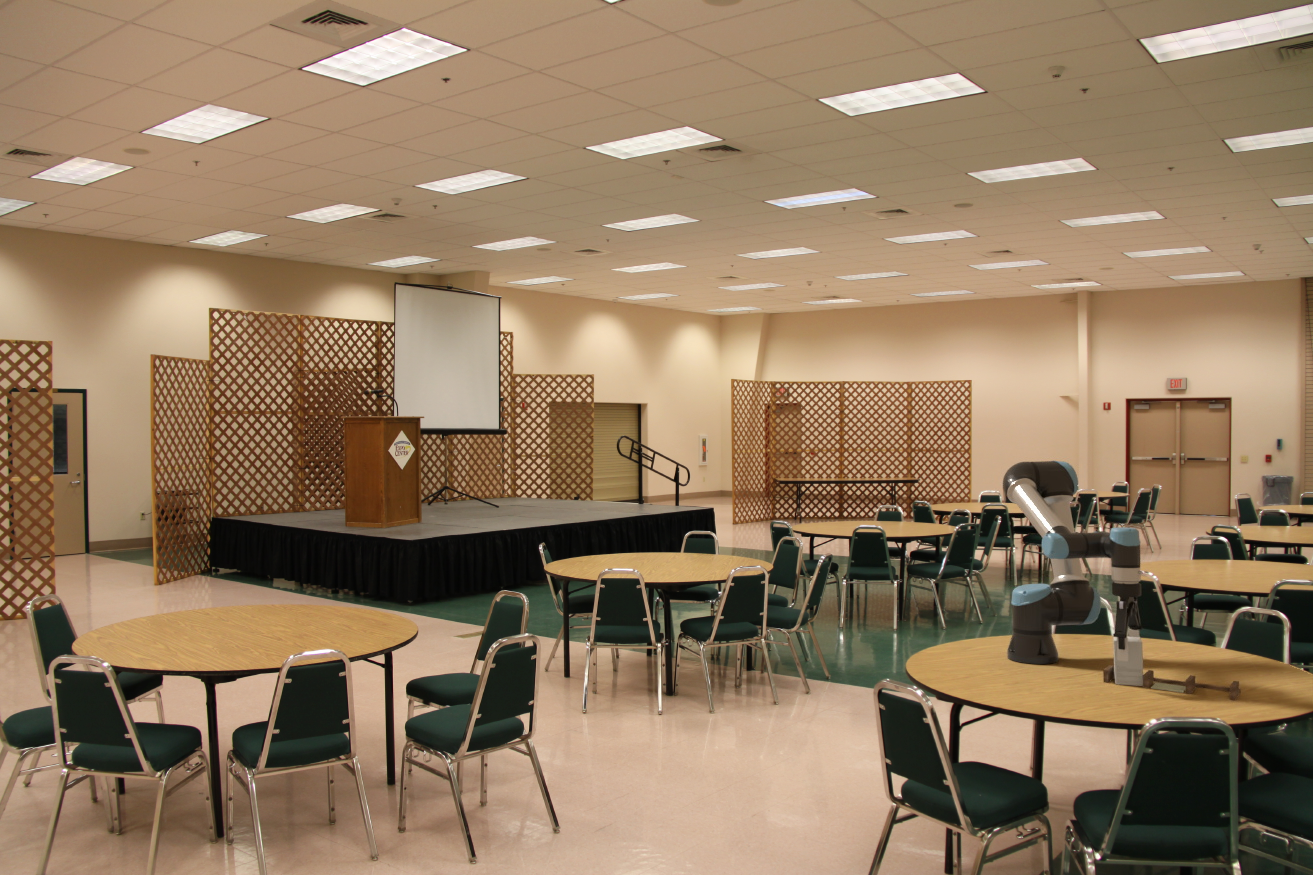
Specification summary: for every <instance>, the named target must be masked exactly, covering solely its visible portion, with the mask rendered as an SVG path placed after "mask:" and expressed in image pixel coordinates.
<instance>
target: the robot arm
mask: <svg viewBox="0 0 1313 875" xmlns="http://www.w3.org/2000/svg"><path fill="white" fill-rule="evenodd" d="M1078 478H1079V477H1078V474H1077V472H1076V470H1075V468H1074V467H1073V465H1072V464H1070V463H1069V462H1067V461H1061V460H1059V461H1058V460H1050V461H1049V460H1048V461H1047V460H1045V461H1044V460H1043V461H1021V462H1017V463H1015V464H1014V465H1012V466H1010V467H1009V468H1008V469H1007V470H1006V472H1005V474H1004V476H1003V480H1002V490H1003V492H1004V495H1005V496H1006V497H1007V499H1008V500H1009V501H1010V502H1011V503H1013V504H1016V505H1017V507H1018V508H1019V509H1020V510H1021V511H1022V513H1023V514H1024V516H1025V517H1026V518H1027V519H1028V521H1029V522H1030V524H1031V525H1032V526H1033V527H1034V529H1035V530H1036V532H1037V533H1038V534H1039V535H1040V536H1041V538H1042V539H1041V549H1042V550H1043V554H1044V556H1045V557H1046V558H1048V559H1050V562H1051V567H1052V573H1053V574H1052V575H1053V580H1052V581H1051V582H1050V583H1049V584H1048V583H1029V584H1028V583H1027V584H1023V585H1018V586H1017V587H1015V588H1014V589H1013V590H1012V594H1011V601H1010V603H1011V618H1012V619H1011V620H1012V634H1011V636H1010V641H1009V644H1008V647H1007V652H1006V654H1007V656H1006V657H1007V659H1009V660H1011V661H1013V662H1017V663H1018V662H1019V663H1022V664H1034V665H1045V664H1054V663H1055V664H1056V663H1057V662H1059V652H1058V649H1057V646H1056V643H1055V640H1054V638H1053V629H1052V628H1053V627H1052V626H1071V625H1072V626H1073V625H1074V626H1075V625H1076V626H1082V625H1091V624H1093V623H1095V622H1096V620H1098V618H1099V614H1100V612H1101V607H1102V600H1101V596H1100V593H1099V592H1098V590H1097V588H1096V587H1093V586H1090V580H1089V579H1088V578H1086V577H1085V576H1084V575H1083V570H1082V565H1081V559H1110V562H1111V563H1110V566H1111V567H1110V568H1111V569H1110V570H1111V580H1112V581H1113V582H1112V583H1111V594H1112V595H1113V596H1115V597H1119V600H1117V601H1116V603H1115V604H1116V612H1115V621H1114V622H1115V624H1114V625H1115V626H1114V632H1113V633H1112V635H1113V636H1112V638H1113V637H1117V660H1119V661H1129V658H1128V638H1127V637H1140V630H1141V631H1142V630H1143V626H1142V624H1141V618H1140V617H1141V616H1140V613H1139V605H1138V597H1141V596H1142V584H1141V581H1142V577H1141V576H1142V575H1143V574H1144V571H1143V570H1141V539H1140V531H1139V529H1138V528H1135V527H1126V526H1125V527H1123V526H1122V527H1112V528H1110V531H1106V530H1105V531H1104V530H1101V531H1099V530H1098V531H1097V530H1096V531H1093V532H1076V531H1075V526H1074V522H1073V517H1072V510H1071V505H1070V504H1071V502H1072V501H1073V500H1074V495H1075V494H1077V492H1078V489H1079V487H1078V485H1079V479H1078Z"/></svg>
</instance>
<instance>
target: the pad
mask: <svg viewBox="0 0 1313 875" xmlns="http://www.w3.org/2000/svg"><path fill="white" fill-rule="evenodd" d="M1150 689H1154V690H1161V691H1170V692H1175V693H1176V692H1177V693H1182V694H1183V693H1186V686H1183V685H1175V684H1167V683H1160V682H1154V683H1153V684H1152V685H1151V686H1150Z"/></svg>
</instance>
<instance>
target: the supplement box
mask: <svg viewBox="0 0 1313 875" xmlns="http://www.w3.org/2000/svg"><path fill="white" fill-rule="evenodd" d="M1112 638H1113V642H1112V643H1113V644H1112V645H1113V666H1114V678H1113V679H1114V683H1115V685H1119V686H1121V685H1122V686H1135V687H1136V686H1137V687H1144V684H1143V675H1144V653H1143V652H1144V651H1143V648H1144V647H1143V641H1142V639H1141V638H1142V637H1141V636H1139V637H1129V636H1127V638H1128V658H1129V661H1119V660H1117V637H1113V636H1112Z"/></svg>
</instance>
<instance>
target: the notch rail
mask: <svg viewBox="0 0 1313 875" xmlns="http://www.w3.org/2000/svg"><path fill="white" fill-rule="evenodd" d="M1102 670H1103V674H1102V678H1103V680H1102V681H1103V683H1110V682H1111V681H1112V680H1114V679H1115V678H1114V664H1112V665H1111V664H1109V665H1107V667H1105V668H1104V669H1102ZM1154 673H1155V672H1154V670H1153V669H1148V670H1147V671H1146V672H1145V673H1143V684H1144V686H1143V689H1144V688H1145V689H1149V688H1151V687H1152V686H1153V685H1154V684H1155V683H1156V682H1157V683H1164V684H1172V685H1179V686H1186V690H1185V694H1187V695H1192V693H1193V692H1194V691H1195V690H1196V688H1200V689H1206V690H1212V691H1213V690H1215V691H1222V692H1227V693H1229V700H1232V701H1236V700H1237V699H1238V697H1239V696H1240V693H1241V690H1242V689H1241V688H1240V681H1238V680H1233V681H1232V683H1231V684H1230V685H1229V686H1222V685H1216V684H1209V683H1208V684H1207V683H1199V682H1196V675H1191V674H1190V675H1189V676H1188V677H1187V678H1186V679H1185V680H1176V679H1168V678H1161V677H1154Z"/></svg>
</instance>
